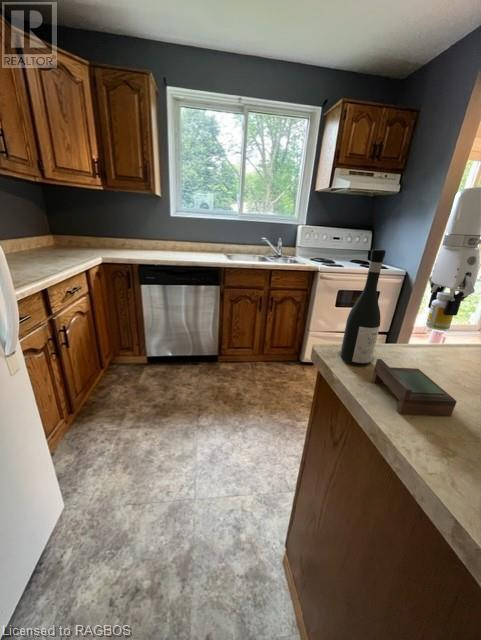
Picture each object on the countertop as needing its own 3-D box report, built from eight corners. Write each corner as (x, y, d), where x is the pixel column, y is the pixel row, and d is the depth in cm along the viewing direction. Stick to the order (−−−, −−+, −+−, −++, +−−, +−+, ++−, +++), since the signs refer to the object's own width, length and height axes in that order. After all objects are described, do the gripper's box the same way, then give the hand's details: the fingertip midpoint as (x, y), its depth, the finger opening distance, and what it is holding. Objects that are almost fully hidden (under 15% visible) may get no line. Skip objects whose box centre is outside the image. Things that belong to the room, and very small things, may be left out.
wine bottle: (377, 364, 73) (405, 251, 63) (356, 370, 70) (382, 251, 60) (353, 352, 80) (376, 247, 70) (333, 356, 77) (353, 247, 66)
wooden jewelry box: (412, 386, 64) (420, 360, 62) (448, 422, 53) (460, 392, 50) (370, 385, 64) (377, 358, 61) (397, 420, 53) (407, 389, 50)
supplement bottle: (453, 329, 74) (464, 295, 71) (440, 332, 72) (450, 296, 69) (433, 323, 79) (443, 290, 75) (421, 325, 77) (430, 292, 73)
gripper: (507, 245, 60) (481, 322, 66) (451, 240, 76) (434, 303, 82) (473, 244, 60) (450, 321, 66) (424, 240, 76) (409, 302, 82)
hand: (441, 310), depth 74 cm, fingers closed on supplement bottle, 5 cm apart
